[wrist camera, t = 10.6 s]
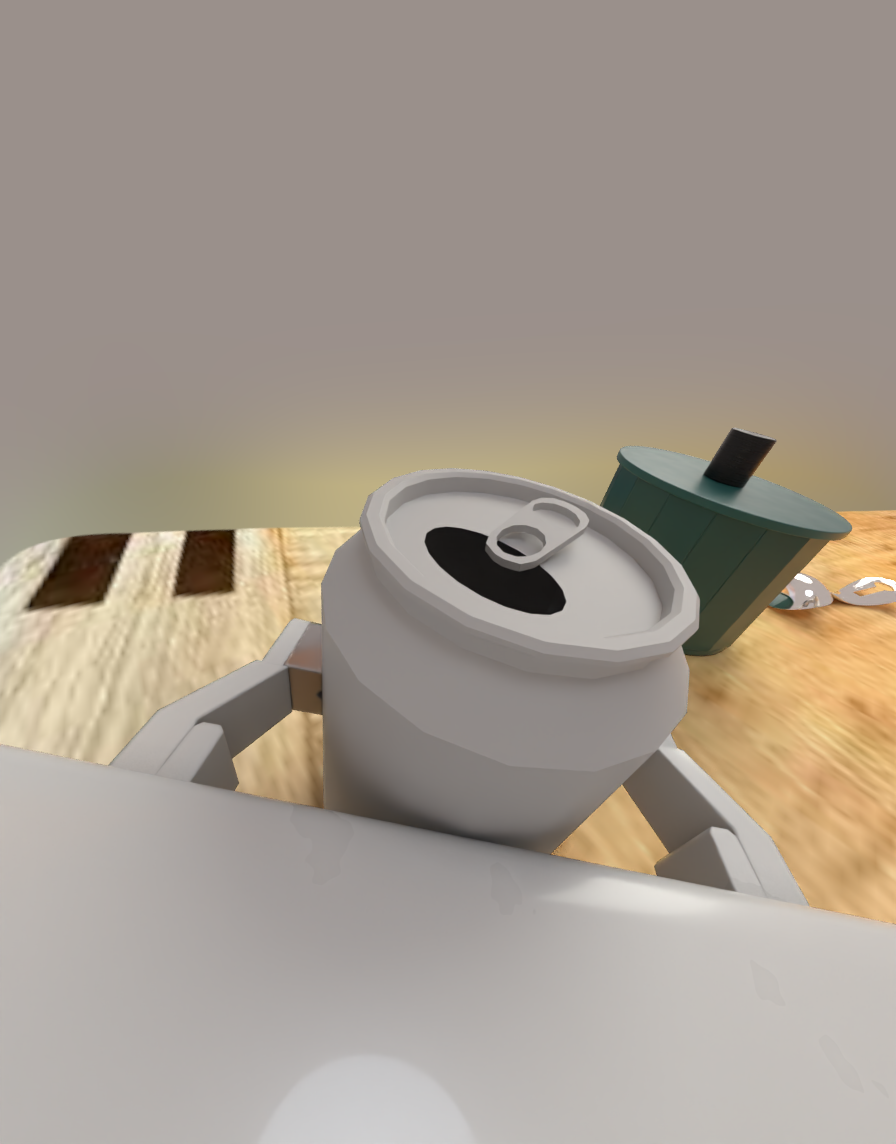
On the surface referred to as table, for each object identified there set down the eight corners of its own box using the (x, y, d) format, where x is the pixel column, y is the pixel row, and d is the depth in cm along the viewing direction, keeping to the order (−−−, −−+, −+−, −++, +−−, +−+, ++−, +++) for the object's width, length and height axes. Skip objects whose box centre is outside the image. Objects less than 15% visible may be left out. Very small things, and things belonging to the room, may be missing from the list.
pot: (640, 552, 36) (696, 460, 30) (763, 642, 27) (873, 534, 21) (542, 557, 31) (587, 448, 25) (651, 670, 22) (758, 538, 16)
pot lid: (691, 465, 31) (720, 416, 29) (878, 546, 21) (945, 483, 19) (574, 454, 26) (599, 393, 23) (754, 555, 16) (825, 469, 14)
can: (281, 792, 13) (231, 468, 6) (429, 683, 18) (493, 442, 11) (424, 1028, 9) (718, 898, 2) (558, 806, 14) (772, 560, 7)
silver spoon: (887, 554, 38) (946, 581, 34) (860, 580, 40) (912, 608, 36) (759, 564, 32) (815, 598, 28) (735, 594, 34) (784, 629, 30)
